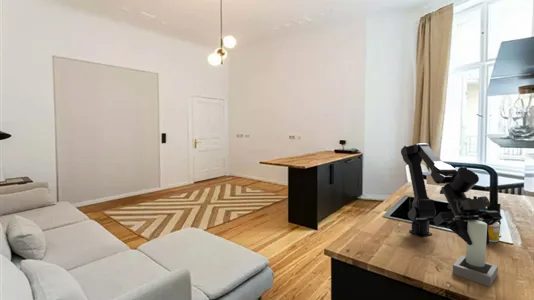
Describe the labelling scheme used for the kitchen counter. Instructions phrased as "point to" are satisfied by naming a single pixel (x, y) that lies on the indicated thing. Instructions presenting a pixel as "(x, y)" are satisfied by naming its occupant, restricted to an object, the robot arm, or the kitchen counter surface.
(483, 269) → the socket collar
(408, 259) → the kitchen counter surface
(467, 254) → the sage peg
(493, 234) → the supplement bottle
